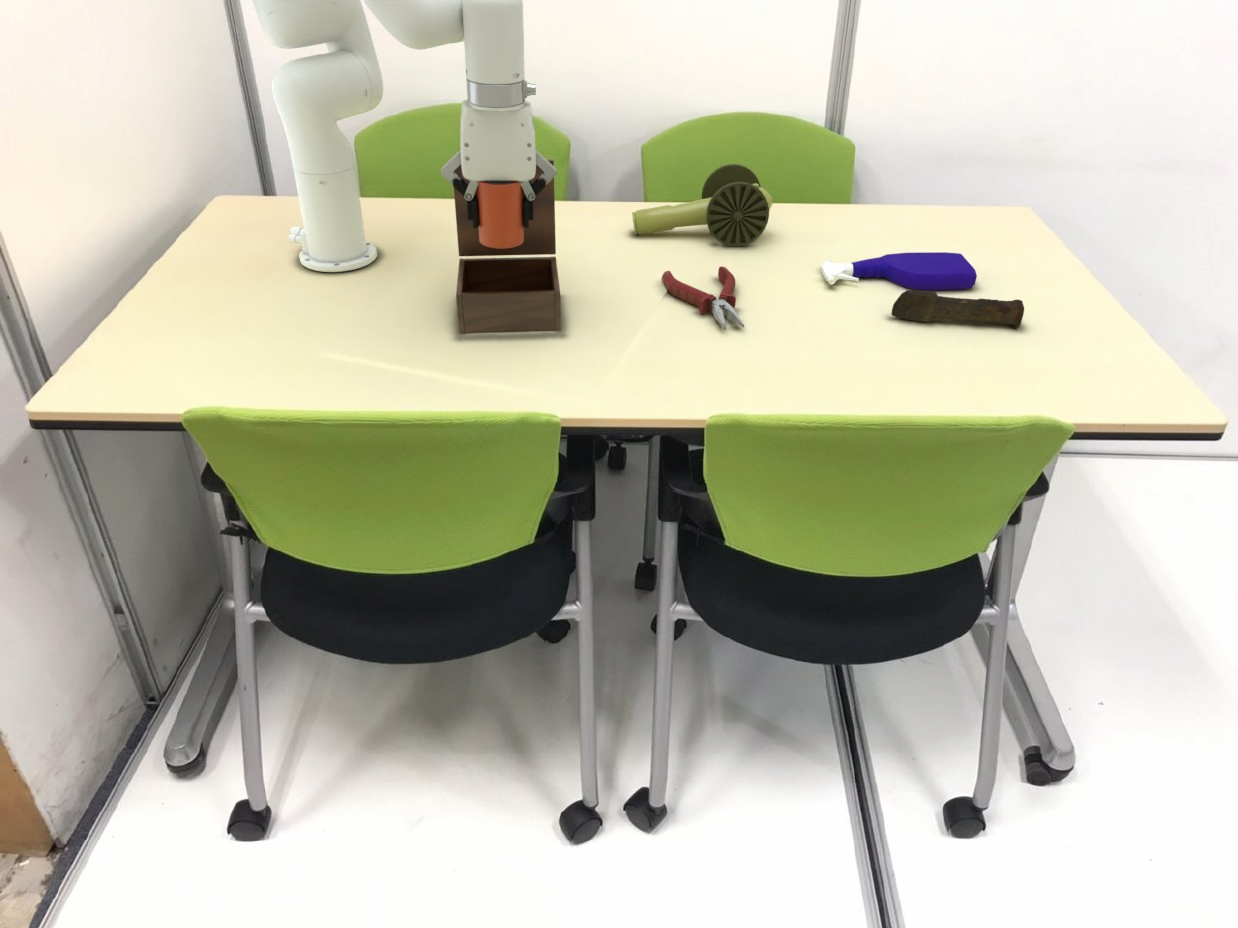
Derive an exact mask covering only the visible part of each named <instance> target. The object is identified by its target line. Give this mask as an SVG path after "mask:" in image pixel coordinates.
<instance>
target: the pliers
mask: <svg viewBox="0 0 1238 928" xmlns="http://www.w3.org/2000/svg"><path fill="white" fill-rule="evenodd" d="M717 276H718V281H719V282H720V283H721V284H722V285H723V287H722V289H721V292H720V293H719V296H718V299H717V296H715V295H714V294H712V293H708V292H705V291H703V290H701V289H698V288H696V287H694V286H691V285H689V284H686V283H685V282H682V281H680V280H678V279H676V278H675V277H674V275H673V273H672V272H671V271H670V270H666V271H664V272H663V273H662V277H661V281H662V283H663V285H664V287H665V289H666V291H667V292H668V293H669V294H670V295H672V296H674V297H675V298H678V299H680V300H682V301H685V302H687V303H689V304H691V305H694V306H696V307H698V312H699V313H700V314H702V315H707V314H708V313H710V314H713V318H714V320H715V321H717V323H719V325H720V326H721V327H722V328H723V329H724V330H725V331H726V330H727V326H726V320H725V315H726V319H727V320H729V321H730V322H731V323H734V324H735V325H738V326H739V327H741V328H745V324H744V323H743V320H742V319H741V318H740V316H739V314H738V312H737V311H736V310H735V308H736V301H737V297H736V295H735V294H734V291H735V288H736V277H735V276H734V274H733V273H732V272H731V271H730V270H729V269H728V268H727V267H725V266H719V267H718V272H717Z"/></svg>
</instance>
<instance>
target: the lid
mask: <svg viewBox="0 0 1238 928" xmlns="http://www.w3.org/2000/svg"><path fill="white" fill-rule="evenodd" d="M546 160H547V161H549V162H550V163H551V164H552V165H553V166H554V167H555V161H554V160H555V159H550V158H549V159H546ZM454 172H455V173H456V174H457V175H458V176H459V177H461V178H462V179H463V180H464V181H465V182H466V183H467V182H468V180H467V179H466V178H464V177H463V174H462V168H461V165H460V166H459V167H458V168H457V169H456V170H455V171H454ZM543 172H544V171H543V170H542V169H541V168H540V167H539V166H537V165H536V173H535V177H534V178H533V179H531V182H532V183H533V182H534V181H535V180H536V179H537V178H538V177H540V176H541V175H542V173H543ZM476 195H477V189H476ZM523 195H524V191H523ZM453 196H454V197H453V198H454V209H455V222H456V223H455V224H456V235H457V248H458V249H457V250H458V257H495V256H499V257H500V256H544V255H545V256H547V255H548V256H549V255H556V254H557V251H556V250H557V248H556V247H557V245H556V244H557V243H556V209H555V208H556V204H555V203H556V202H555V177H554V178H553V179H552V180H551V181H550V182H549V183H547V185H546V186H545V188H544V189H543V190H542V191H541V192H540V193H539V194H538V195H537V196H536V197H535V199H534V200H533V220H529V228H525V227H524V242H523V243H522V244H521V245H519V246H516V247H513V248H505V249H498V248H491V247H487V246H484V245H483V244H481V243H480V241H479V227H477V228H473V220H468V210H467V200H466V199H465V197H464V196H463V195H462V194H461V193H460V192H459V191H458V190H457V189H455V188H454V187H453Z"/></svg>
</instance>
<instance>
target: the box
mask: <svg viewBox="0 0 1238 928" xmlns="http://www.w3.org/2000/svg"><path fill="white" fill-rule="evenodd" d="M455 299H456V311H457V312H456V313H457V324H458V333H459V335H460V334H461V335H462V334H463V335H465V334H490V333H491V334H499V333H529V332H532V333H533V332H536V333H537V332H560V331H561V330H562V323H561V322H562V320H561V317H562V315H561V313H562V311H561V289H560V280H559V273H558V264H557V257H556V256H530V257H529V256H528V257H527V256H526V257H522V256H521V257H482V258H481V257H480V258H479V257H478V258H477V257H475V258H459V259H458V269H457V280H456V290H455Z"/></svg>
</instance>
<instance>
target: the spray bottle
mask: <svg viewBox="0 0 1238 928" xmlns="http://www.w3.org/2000/svg"><path fill="white" fill-rule="evenodd" d="M820 271H821V273H822V275H823V277H824V279H825V281H826V282H828V284H829V285H834V284H835V283H836V282H837V281H839V280H845V281H854V282H859V281H860V279H859V278H861V277H862V278H872V277H873V278H884V279H885V278H886V279H887V280H889V281H891V283H894V284H897V285H898V286H901V287H903V288H906V289H909V290H921V291H959V290H961V291H962V290H969V289H972V288H973V287H974V286H975V285H976V283H977V282H976V281H977V277H978V275H977V271H976V269H975V268H974V266H972V264H971V263H970V262H969V261H968V260H967V259H966V257H965V256H964V255H963V254H962V253H957V252H945V251H943V252H942V251H940V252H939V251H937V252H931V251H929V252H899V253H888V254H884V255H881V256H878V257H873V258H867V259H862V260H858V261H853V262H850V263H849V262H848V263H846V262H845V263H843V262H832V261H830V260H827V259H826V260H825V261H824V262H823V263H822V265H821V267H820Z"/></svg>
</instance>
